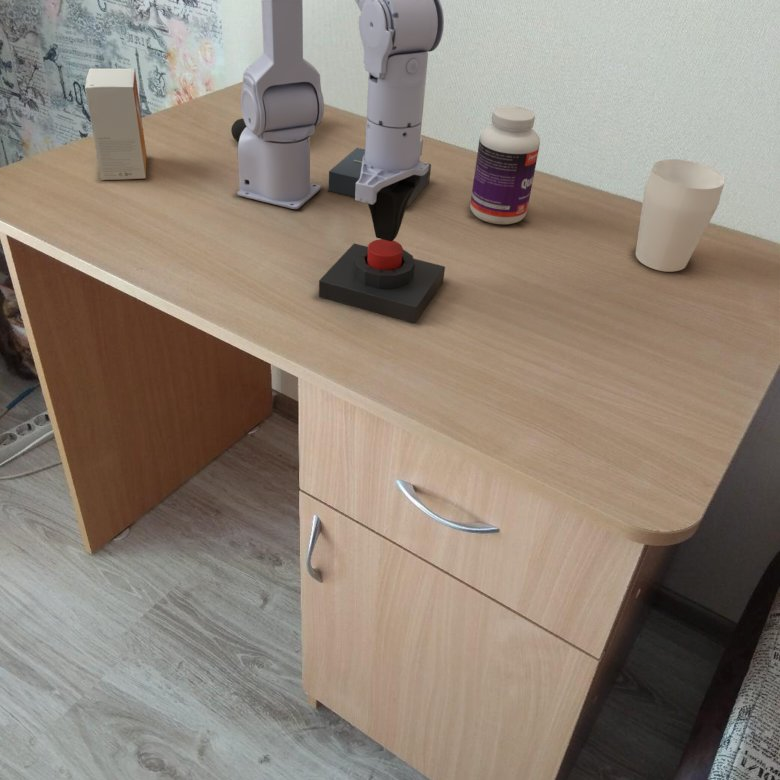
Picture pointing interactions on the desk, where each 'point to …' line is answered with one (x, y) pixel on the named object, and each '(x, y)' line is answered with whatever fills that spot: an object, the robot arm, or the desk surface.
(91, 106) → the small box
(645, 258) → the cup
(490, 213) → the pill bottle
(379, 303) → the button housing
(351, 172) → the dial panel
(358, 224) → the desk surface
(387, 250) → the lid button
